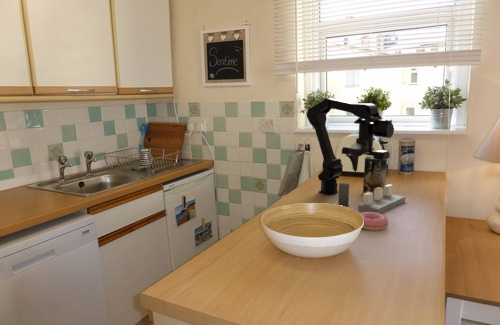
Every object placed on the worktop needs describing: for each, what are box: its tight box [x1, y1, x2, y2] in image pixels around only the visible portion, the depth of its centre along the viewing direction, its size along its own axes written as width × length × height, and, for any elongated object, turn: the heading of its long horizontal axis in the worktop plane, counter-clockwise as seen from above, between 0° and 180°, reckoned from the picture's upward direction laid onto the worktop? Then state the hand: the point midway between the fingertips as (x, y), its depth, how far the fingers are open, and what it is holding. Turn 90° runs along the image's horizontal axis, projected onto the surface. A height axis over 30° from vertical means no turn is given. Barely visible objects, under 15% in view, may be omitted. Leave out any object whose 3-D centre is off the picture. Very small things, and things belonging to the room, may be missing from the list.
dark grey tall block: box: [337, 182, 350, 207], centre depth 146 cm, size 4×4×9 cm
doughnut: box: [360, 211, 389, 232], centre depth 125 cm, size 11×11×4 cm
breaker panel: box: [358, 193, 406, 214], centre depth 146 cm, size 8×22×2 cm, turn 133°
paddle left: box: [362, 192, 374, 205], centre depth 142 cm, size 2×4×4 cm, turn 133°
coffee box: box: [362, 155, 388, 196], centre depth 162 cm, size 9×6×16 cm
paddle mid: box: [373, 187, 383, 200], centre depth 147 cm, size 2×4×4 cm, turn 132°
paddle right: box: [384, 183, 394, 196], centre depth 153 cm, size 2×4×4 cm, turn 133°
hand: (363, 173), depth 151 cm, fingers open, 7 cm apart
